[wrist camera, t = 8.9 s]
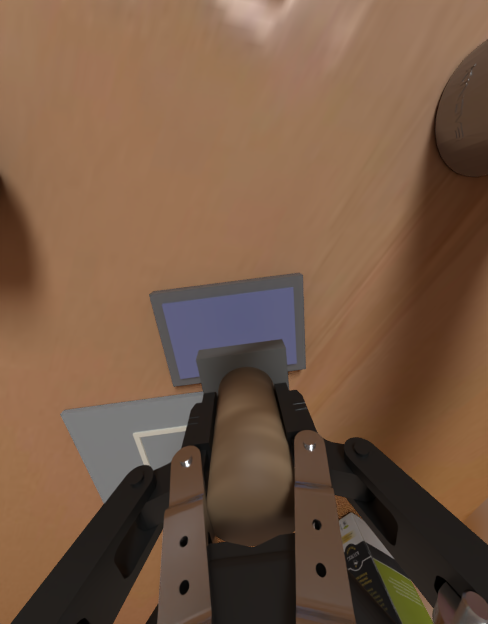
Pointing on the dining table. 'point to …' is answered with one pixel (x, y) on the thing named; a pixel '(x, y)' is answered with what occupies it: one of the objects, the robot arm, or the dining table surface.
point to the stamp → (248, 443)
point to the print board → (129, 436)
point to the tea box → (380, 573)
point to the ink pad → (229, 320)
